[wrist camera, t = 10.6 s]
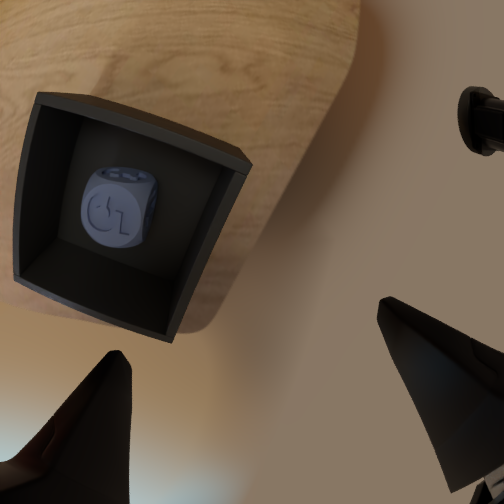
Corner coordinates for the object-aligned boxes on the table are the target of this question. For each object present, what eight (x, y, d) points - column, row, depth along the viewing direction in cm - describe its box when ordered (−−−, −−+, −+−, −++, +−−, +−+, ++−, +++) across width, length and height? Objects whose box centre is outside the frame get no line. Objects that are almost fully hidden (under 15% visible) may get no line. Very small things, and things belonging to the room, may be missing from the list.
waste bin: (88, 94, 14) (37, 91, 8) (240, 148, 18) (253, 164, 12) (54, 237, 18) (13, 280, 13) (180, 285, 22) (171, 344, 16)
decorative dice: (151, 227, 19) (138, 254, 15) (101, 217, 18) (79, 240, 14) (161, 173, 17) (148, 188, 14) (107, 163, 16) (82, 176, 13)
